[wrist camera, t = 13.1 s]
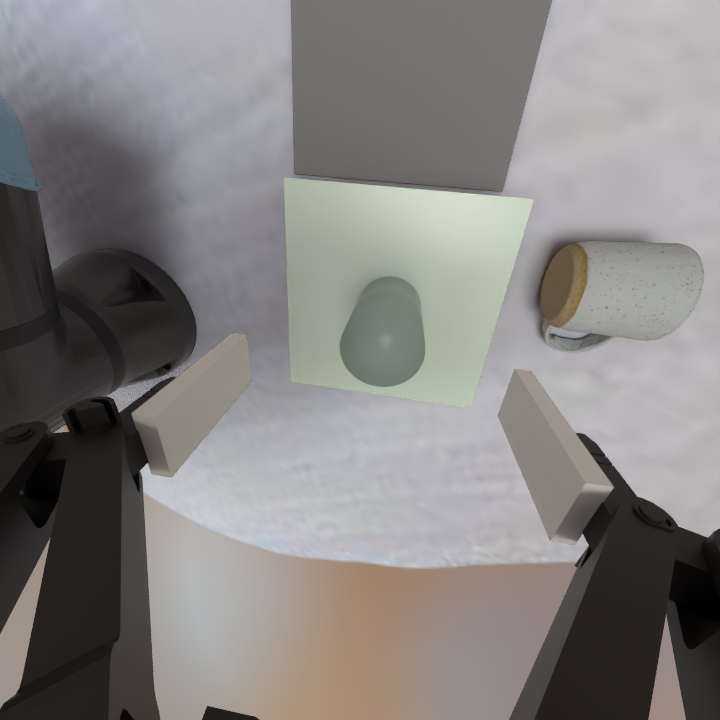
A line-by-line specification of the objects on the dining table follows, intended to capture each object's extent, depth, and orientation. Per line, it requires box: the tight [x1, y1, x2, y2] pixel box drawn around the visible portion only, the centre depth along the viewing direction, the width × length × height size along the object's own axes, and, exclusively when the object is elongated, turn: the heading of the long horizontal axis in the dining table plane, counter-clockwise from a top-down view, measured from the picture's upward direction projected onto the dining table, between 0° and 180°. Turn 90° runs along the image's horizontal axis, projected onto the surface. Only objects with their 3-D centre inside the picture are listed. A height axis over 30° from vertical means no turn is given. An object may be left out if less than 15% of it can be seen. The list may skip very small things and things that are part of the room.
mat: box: [291, 0, 552, 191], centre depth 23 cm, size 18×18×1 cm
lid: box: [284, 177, 534, 408], centre depth 22 cm, size 17×17×9 cm
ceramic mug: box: [540, 241, 704, 352], centre depth 26 cm, size 11×8×8 cm
